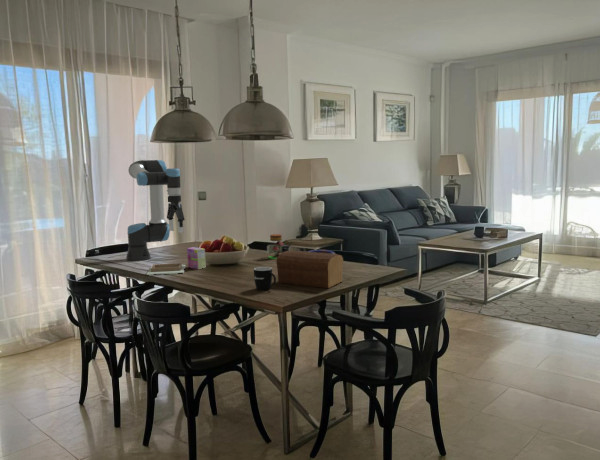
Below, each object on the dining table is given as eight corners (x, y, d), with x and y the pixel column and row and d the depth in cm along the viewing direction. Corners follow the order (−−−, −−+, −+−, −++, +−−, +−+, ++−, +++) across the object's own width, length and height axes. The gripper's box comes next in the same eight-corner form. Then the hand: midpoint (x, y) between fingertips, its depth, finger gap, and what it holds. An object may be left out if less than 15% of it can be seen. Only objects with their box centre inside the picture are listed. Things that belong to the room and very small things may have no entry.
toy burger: (290, 257, 339) (289, 234, 337) (273, 260, 332) (272, 236, 330) (280, 255, 348) (279, 233, 347) (264, 257, 341) (263, 234, 340)
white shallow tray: (151, 268, 313) (151, 263, 312) (185, 266, 316) (185, 261, 316) (146, 275, 291) (146, 270, 291) (183, 273, 294) (183, 268, 294)
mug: (250, 289, 254) (249, 269, 253) (261, 286, 261) (261, 266, 260) (270, 292, 247) (269, 271, 246) (281, 288, 255) (280, 268, 253)
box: (187, 267, 313) (186, 248, 311) (195, 266, 317) (194, 246, 315) (198, 269, 306) (197, 249, 304) (205, 268, 310) (205, 248, 308)
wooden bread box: (293, 276, 282) (293, 247, 280) (343, 282, 267) (343, 251, 265) (275, 283, 267) (275, 252, 265) (327, 289, 252) (327, 256, 250)
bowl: (312, 273, 290) (312, 255, 288) (300, 267, 306) (299, 250, 305) (341, 270, 297) (341, 252, 295) (327, 264, 313) (327, 248, 312)
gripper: (159, 195, 308) (161, 230, 310) (176, 196, 288) (178, 234, 290) (172, 194, 312) (173, 229, 315) (189, 195, 292) (191, 233, 295)
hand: (176, 231), depth 302 cm, fingers open, 13 cm apart
